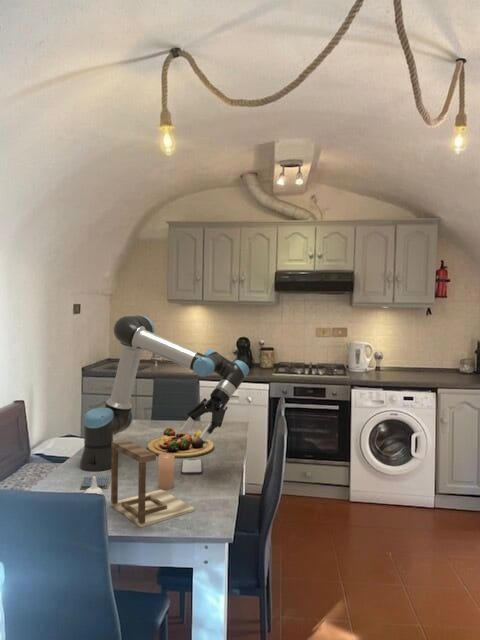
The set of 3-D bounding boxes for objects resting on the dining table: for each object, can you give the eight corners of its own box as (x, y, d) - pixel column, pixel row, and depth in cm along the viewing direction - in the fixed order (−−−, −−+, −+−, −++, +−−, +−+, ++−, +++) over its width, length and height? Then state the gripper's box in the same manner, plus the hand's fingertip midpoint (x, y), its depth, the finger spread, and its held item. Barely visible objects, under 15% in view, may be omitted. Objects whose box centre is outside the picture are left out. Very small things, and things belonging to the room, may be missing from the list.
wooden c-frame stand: (110, 505, 169) (111, 441, 168) (161, 492, 182) (162, 432, 181) (140, 527, 153) (141, 456, 152) (194, 511, 166) (195, 445, 165)
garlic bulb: (82, 503, 172) (81, 481, 171) (86, 494, 178) (86, 473, 177) (100, 503, 172) (100, 481, 171) (104, 494, 178) (104, 473, 177)
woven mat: (111, 480, 194) (111, 475, 194) (108, 490, 184) (108, 485, 184) (83, 481, 192) (83, 476, 192) (79, 491, 182) (79, 486, 182)
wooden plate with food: (142, 441, 248) (143, 425, 247) (204, 437, 258) (205, 421, 257) (152, 463, 217) (152, 444, 217) (221, 456, 227) (222, 439, 227)
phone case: (202, 476, 201) (202, 462, 217) (202, 472, 201) (202, 459, 217) (180, 476, 201) (181, 462, 217) (180, 472, 201) (182, 459, 216)
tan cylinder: (155, 486, 187) (155, 454, 187) (168, 482, 191) (169, 452, 191) (163, 491, 183) (163, 458, 182) (177, 487, 187) (177, 455, 186)
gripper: (247, 403, 195) (216, 448, 186) (209, 394, 214) (180, 434, 205) (237, 391, 191) (205, 436, 182) (199, 383, 210) (169, 423, 201)
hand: (192, 435), depth 193 cm, fingers open, 13 cm apart
